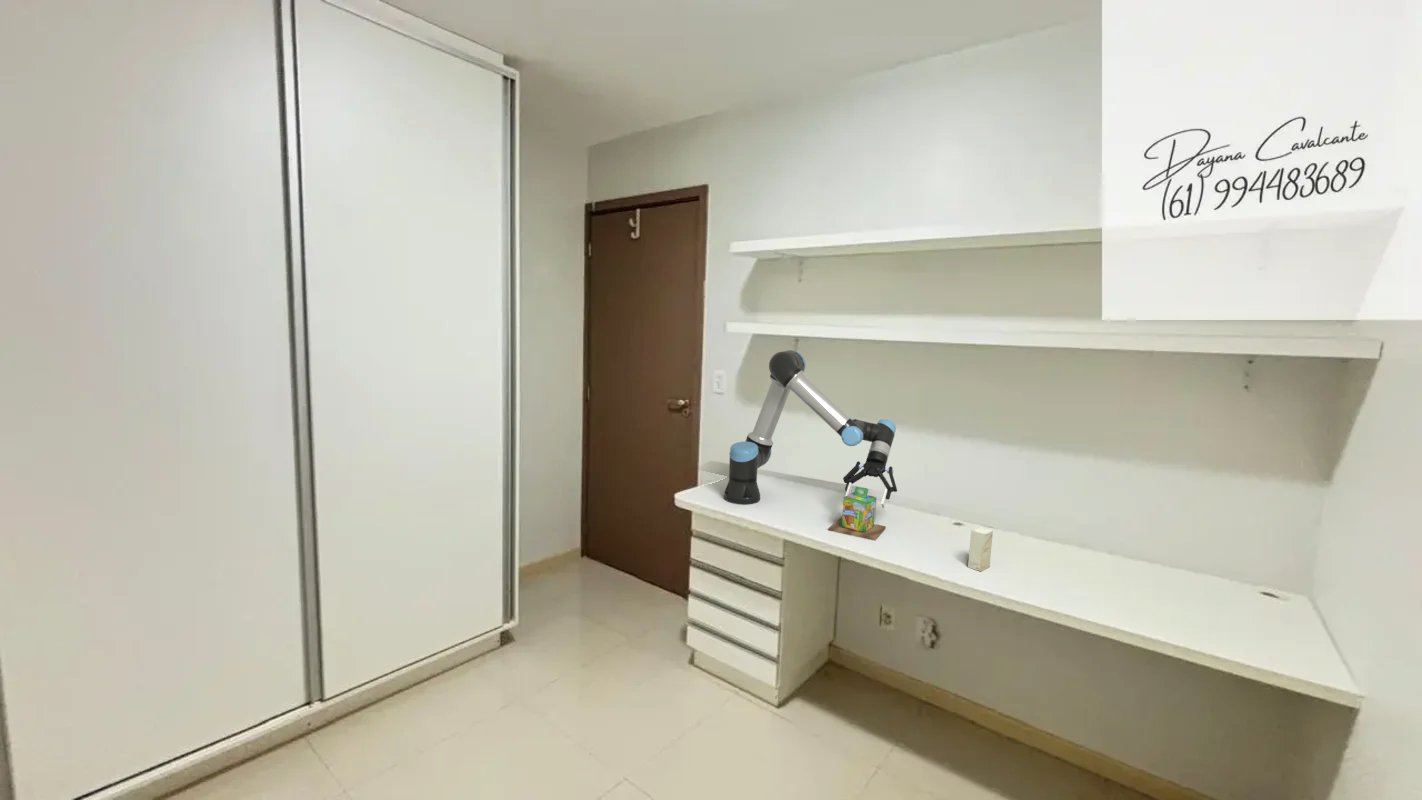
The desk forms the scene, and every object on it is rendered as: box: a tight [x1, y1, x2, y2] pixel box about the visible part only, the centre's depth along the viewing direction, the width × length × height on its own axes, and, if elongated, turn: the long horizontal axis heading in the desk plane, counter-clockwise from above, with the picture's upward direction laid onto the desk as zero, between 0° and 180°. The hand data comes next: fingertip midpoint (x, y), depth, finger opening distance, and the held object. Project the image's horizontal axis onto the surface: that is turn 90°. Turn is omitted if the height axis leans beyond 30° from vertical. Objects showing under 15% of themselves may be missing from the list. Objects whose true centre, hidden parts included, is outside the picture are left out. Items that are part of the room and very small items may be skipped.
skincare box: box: [967, 526, 994, 572], centre depth 184 cm, size 6×4×12 cm
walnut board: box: [828, 516, 887, 541], centre depth 215 cm, size 17×14×1 cm
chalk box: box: [841, 486, 877, 533], centre depth 213 cm, size 9×9×15 cm
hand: (864, 502), depth 218 cm, fingers open, 13 cm apart
